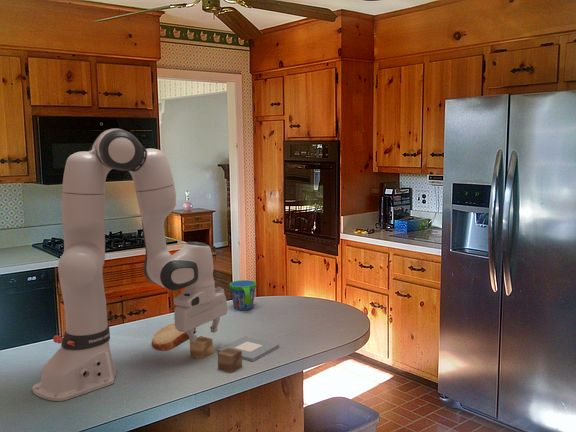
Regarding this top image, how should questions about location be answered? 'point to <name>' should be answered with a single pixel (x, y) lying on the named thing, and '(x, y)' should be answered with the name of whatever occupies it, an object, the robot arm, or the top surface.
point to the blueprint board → (251, 347)
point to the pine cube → (201, 347)
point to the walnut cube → (230, 360)
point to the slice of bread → (168, 338)
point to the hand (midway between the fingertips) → (203, 336)
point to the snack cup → (243, 294)
